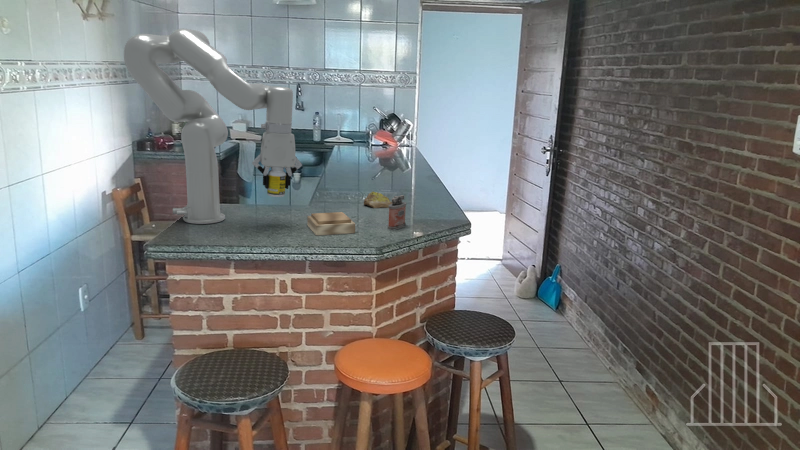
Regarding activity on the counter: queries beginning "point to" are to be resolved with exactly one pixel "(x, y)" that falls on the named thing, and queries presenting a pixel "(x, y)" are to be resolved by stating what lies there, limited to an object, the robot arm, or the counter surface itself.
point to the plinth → (330, 223)
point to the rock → (377, 200)
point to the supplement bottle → (276, 182)
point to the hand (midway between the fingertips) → (276, 187)
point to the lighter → (397, 213)
